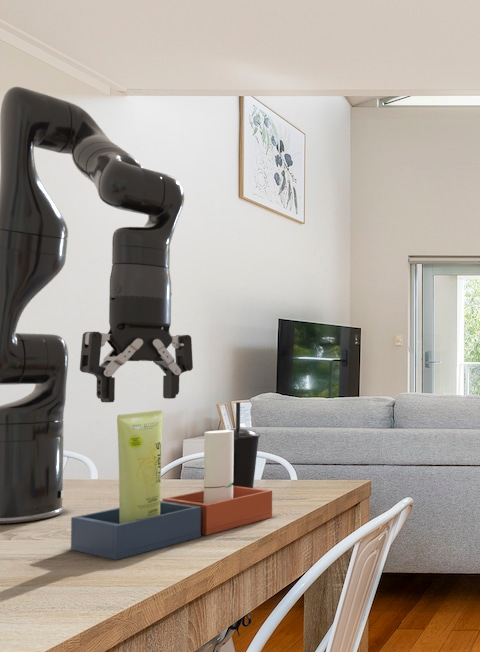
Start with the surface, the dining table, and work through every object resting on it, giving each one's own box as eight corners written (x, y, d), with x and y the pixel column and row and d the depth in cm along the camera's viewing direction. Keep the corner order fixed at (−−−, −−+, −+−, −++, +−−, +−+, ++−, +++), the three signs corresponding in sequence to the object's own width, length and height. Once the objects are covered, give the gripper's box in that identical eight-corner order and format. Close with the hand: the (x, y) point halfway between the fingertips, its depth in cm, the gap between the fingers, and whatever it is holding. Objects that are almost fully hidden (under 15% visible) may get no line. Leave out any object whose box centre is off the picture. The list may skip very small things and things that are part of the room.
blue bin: (70, 549, 86) (71, 517, 86) (156, 528, 97) (156, 500, 97) (116, 560, 81) (116, 526, 81) (200, 536, 92) (201, 506, 92)
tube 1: (158, 539, 88) (159, 412, 88) (115, 545, 85) (116, 413, 86) (161, 530, 93) (162, 409, 93) (120, 535, 90) (122, 411, 90)
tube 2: (210, 522, 98) (211, 433, 98) (198, 518, 100) (199, 432, 100) (237, 516, 101) (238, 431, 101) (225, 512, 103) (226, 429, 104)
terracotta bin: (162, 527, 97) (162, 498, 98) (229, 510, 108) (229, 485, 108) (206, 535, 93) (206, 505, 93) (272, 517, 104) (272, 490, 104)
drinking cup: (267, 502, 114) (268, 402, 114) (225, 511, 107) (226, 404, 108) (247, 498, 118) (248, 400, 118) (206, 505, 112) (207, 403, 112)
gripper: (175, 301, 98) (173, 396, 97) (71, 292, 84) (69, 402, 84) (203, 299, 95) (202, 398, 94) (100, 290, 81) (98, 404, 81)
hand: (139, 400), depth 89 cm, fingers open, 8 cm apart
